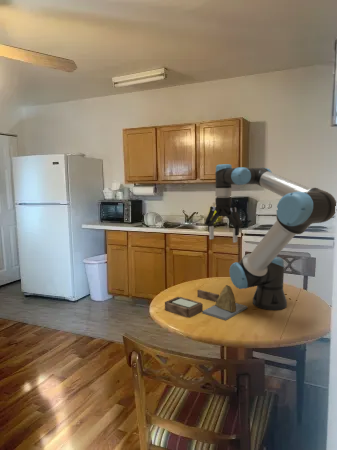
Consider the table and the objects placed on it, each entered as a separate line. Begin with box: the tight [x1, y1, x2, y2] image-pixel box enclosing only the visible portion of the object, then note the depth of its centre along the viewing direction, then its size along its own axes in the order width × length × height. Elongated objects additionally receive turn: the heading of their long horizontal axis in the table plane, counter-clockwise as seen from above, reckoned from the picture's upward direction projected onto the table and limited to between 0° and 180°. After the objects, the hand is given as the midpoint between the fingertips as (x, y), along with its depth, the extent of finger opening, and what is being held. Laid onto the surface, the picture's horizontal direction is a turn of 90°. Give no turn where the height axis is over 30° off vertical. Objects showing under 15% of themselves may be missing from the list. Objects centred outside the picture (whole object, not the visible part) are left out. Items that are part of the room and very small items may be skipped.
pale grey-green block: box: [172, 299, 198, 309], centre depth 152 cm, size 10×6×4 cm, turn 48°
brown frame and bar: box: [164, 289, 220, 318], centre depth 157 cm, size 14×25×4 cm, turn 138°
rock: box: [214, 285, 236, 312], centre depth 150 cm, size 11×9×10 cm
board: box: [201, 302, 248, 321], centre depth 151 cm, size 12×18×1 cm, turn 138°
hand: (223, 240), depth 165 cm, fingers open, 13 cm apart
